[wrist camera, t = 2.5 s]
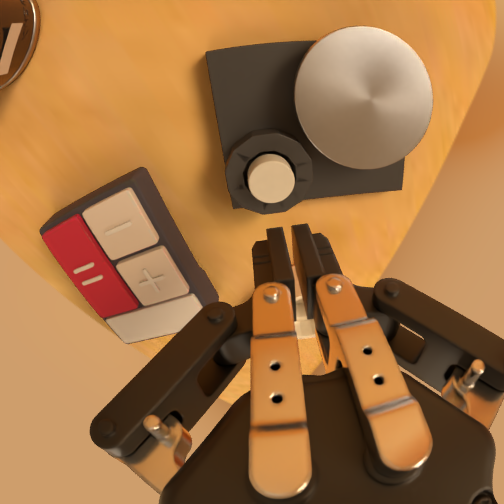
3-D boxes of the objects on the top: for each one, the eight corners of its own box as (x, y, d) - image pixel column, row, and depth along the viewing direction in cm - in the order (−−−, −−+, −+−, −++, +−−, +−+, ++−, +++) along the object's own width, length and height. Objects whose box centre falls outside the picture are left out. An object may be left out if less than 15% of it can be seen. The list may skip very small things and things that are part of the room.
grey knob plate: (233, 201, 25) (232, 219, 22) (207, 52, 18) (202, 51, 15) (395, 183, 24) (410, 199, 22) (396, 45, 17) (416, 45, 15)
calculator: (130, 181, 19) (218, 329, 27) (147, 162, 23) (220, 297, 31) (32, 234, 21) (123, 350, 29) (55, 211, 25) (133, 321, 32)
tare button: (250, 196, 22) (251, 206, 20) (244, 156, 20) (245, 164, 19) (292, 190, 21) (296, 200, 20) (289, 151, 20) (293, 158, 18)
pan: (299, 172, 20) (300, 175, 20) (284, 25, 14) (285, 25, 14) (425, 163, 20) (429, 166, 19) (426, 34, 14) (431, 34, 14)
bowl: (272, 309, 32) (276, 342, 29) (266, 265, 29) (271, 299, 25) (327, 301, 32) (337, 333, 28) (329, 256, 28) (342, 289, 25)
